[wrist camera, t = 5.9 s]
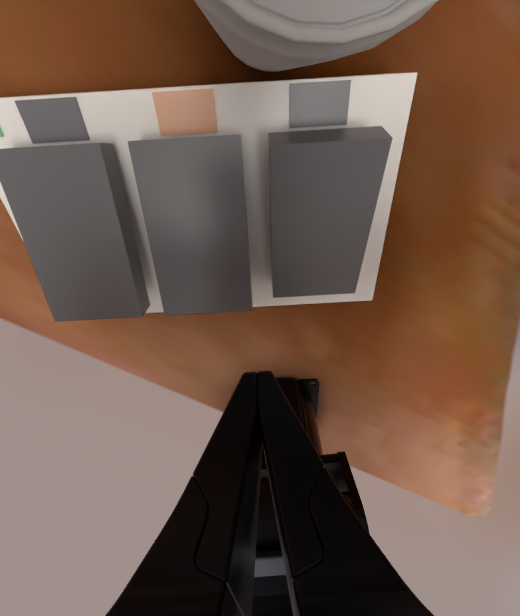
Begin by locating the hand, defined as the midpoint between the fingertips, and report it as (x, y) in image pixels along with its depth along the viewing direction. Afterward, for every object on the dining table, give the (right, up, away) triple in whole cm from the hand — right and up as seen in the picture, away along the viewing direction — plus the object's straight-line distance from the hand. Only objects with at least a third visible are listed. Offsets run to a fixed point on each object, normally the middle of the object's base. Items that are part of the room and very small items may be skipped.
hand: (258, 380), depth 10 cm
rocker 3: (+2, +6, +4) cm, 7 cm away
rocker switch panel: (-3, +8, +7) cm, 11 cm away
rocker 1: (-7, +5, +4) cm, 10 cm away
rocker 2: (-2, +5, +4) cm, 7 cm away
